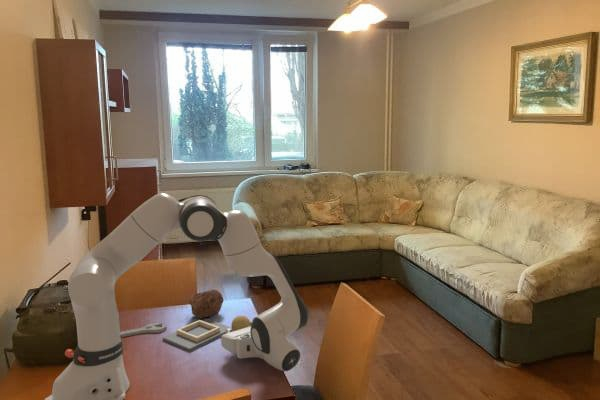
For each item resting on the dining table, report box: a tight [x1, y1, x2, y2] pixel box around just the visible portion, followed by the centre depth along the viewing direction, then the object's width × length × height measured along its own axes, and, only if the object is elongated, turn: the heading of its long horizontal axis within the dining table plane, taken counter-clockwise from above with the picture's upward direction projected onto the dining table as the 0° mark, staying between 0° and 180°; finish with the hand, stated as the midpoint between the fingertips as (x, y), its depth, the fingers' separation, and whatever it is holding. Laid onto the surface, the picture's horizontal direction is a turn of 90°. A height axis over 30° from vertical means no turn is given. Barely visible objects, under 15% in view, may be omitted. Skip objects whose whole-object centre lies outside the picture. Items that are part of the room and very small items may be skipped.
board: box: [162, 317, 233, 352], centre depth 180 cm, size 20×14×2 cm
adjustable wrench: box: [120, 322, 167, 338], centre depth 182 cm, size 25×6×2 cm, turn 110°
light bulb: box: [230, 315, 251, 332], centre depth 172 cm, size 6×6×10 cm
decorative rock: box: [188, 289, 224, 319], centre depth 197 cm, size 13×11×10 cm
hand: (239, 326), depth 173 cm, fingers open, 8 cm apart
